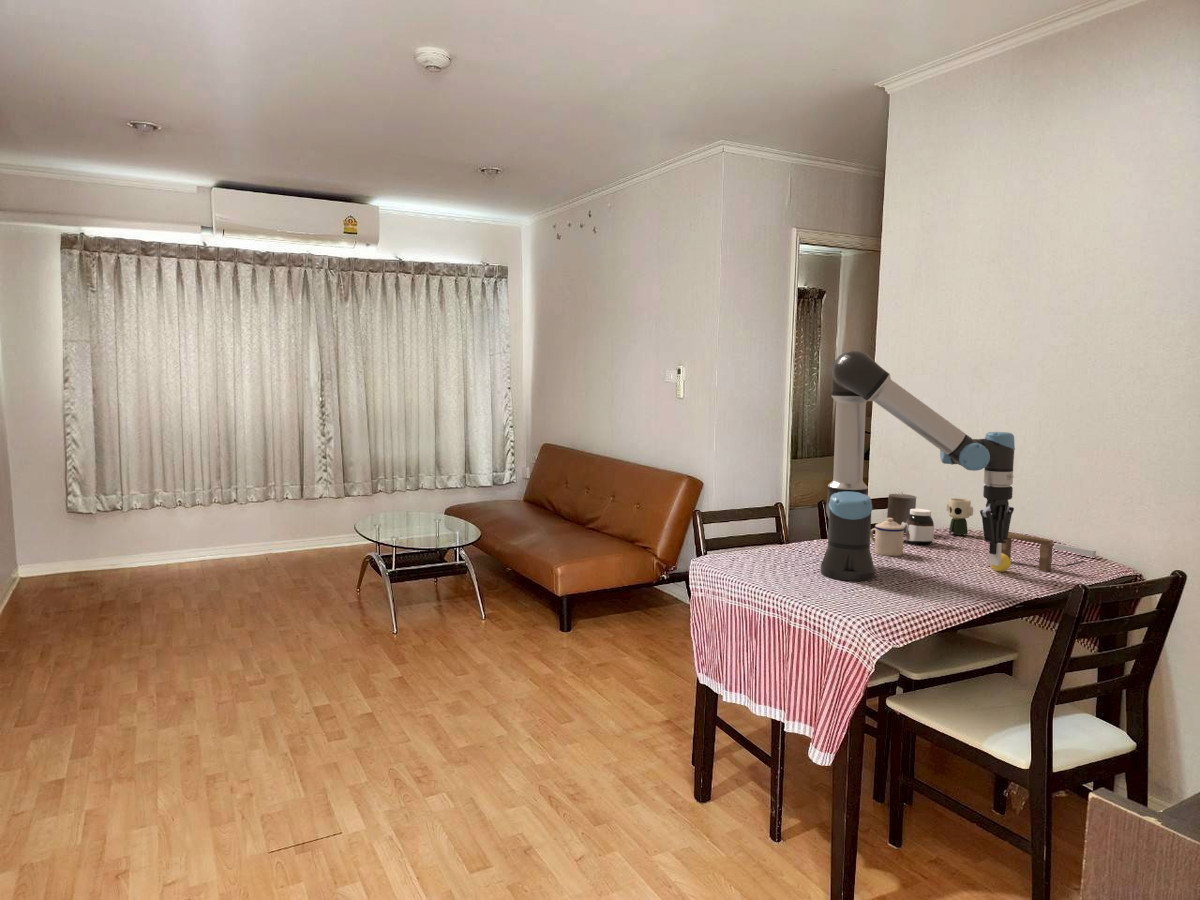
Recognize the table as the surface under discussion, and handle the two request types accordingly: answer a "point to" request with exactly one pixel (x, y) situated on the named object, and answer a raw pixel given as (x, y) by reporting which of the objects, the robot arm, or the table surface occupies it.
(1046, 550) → the bridge
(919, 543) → the spread jar
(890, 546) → the teacup with lid
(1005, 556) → the ball
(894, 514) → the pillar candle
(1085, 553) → the wall
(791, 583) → the table surface
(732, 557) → the table surface
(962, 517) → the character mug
